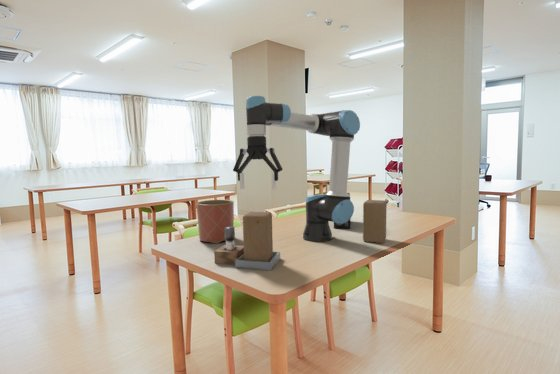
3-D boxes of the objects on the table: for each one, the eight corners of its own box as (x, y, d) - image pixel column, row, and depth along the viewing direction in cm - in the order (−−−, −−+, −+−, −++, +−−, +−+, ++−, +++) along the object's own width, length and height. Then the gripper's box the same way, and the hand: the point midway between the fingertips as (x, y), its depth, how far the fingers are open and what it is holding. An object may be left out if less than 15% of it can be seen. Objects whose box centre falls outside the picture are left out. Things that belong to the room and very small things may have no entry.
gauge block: (245, 257, 145) (245, 245, 144) (237, 264, 135) (236, 252, 135) (224, 255, 147) (224, 244, 147) (214, 263, 138) (214, 251, 137)
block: (386, 239, 170) (386, 200, 168) (383, 244, 161) (384, 203, 159) (366, 237, 174) (366, 199, 172) (362, 242, 165) (362, 202, 163)
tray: (280, 258, 142) (280, 251, 142) (270, 270, 128) (270, 262, 127) (248, 256, 145) (247, 249, 145) (235, 267, 131) (235, 260, 131)
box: (334, 220, 218) (334, 192, 216) (349, 221, 216) (349, 192, 215) (333, 228, 196) (333, 196, 194) (350, 229, 194) (350, 196, 192)
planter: (217, 246, 163) (216, 205, 161) (190, 241, 173) (188, 203, 171) (242, 237, 179) (240, 200, 177) (215, 233, 189) (214, 198, 187)
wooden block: (267, 266, 131) (266, 216, 129) (243, 265, 133) (241, 215, 131) (273, 258, 140) (272, 211, 138) (250, 257, 143) (249, 211, 141)
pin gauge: (237, 258, 143) (236, 226, 141) (233, 261, 139) (232, 229, 137) (228, 258, 144) (226, 226, 142) (224, 261, 140) (222, 228, 138)
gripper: (289, 135, 133) (290, 188, 136) (231, 137, 140) (233, 187, 142) (284, 134, 126) (285, 190, 128) (223, 136, 132) (225, 189, 135)
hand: (258, 189), depth 135 cm, fingers open, 13 cm apart
